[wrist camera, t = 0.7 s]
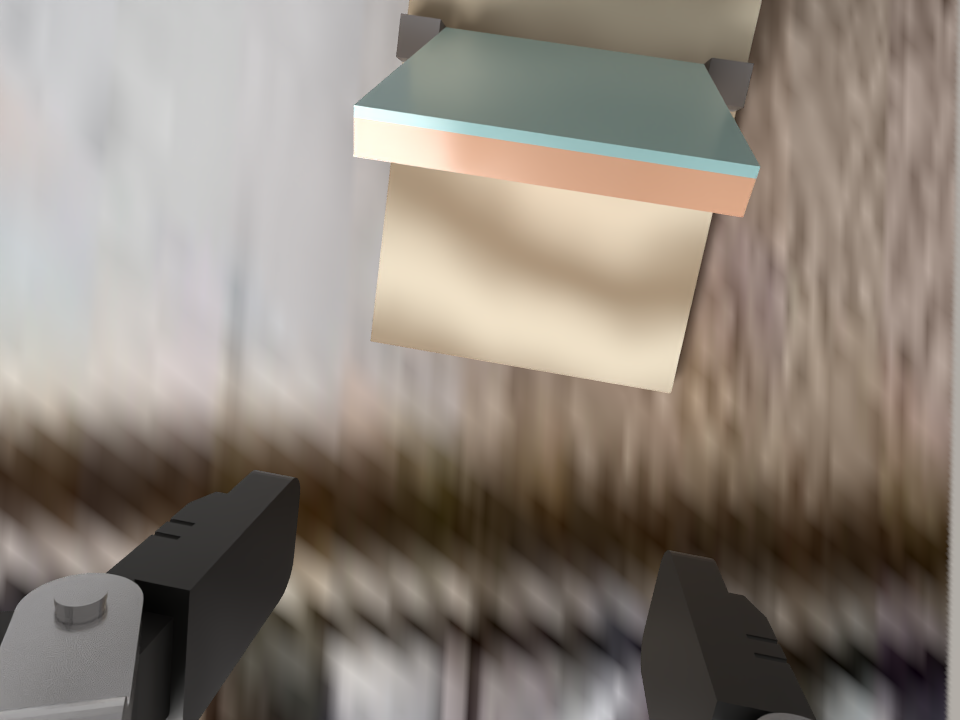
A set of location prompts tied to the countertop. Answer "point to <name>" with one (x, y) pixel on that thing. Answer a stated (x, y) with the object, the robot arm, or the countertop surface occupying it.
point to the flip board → (554, 216)
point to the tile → (561, 121)
